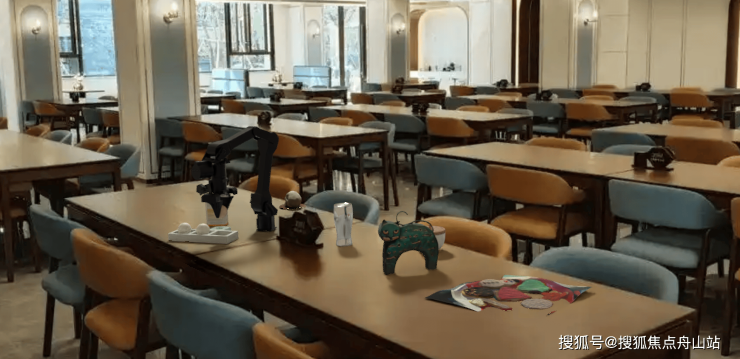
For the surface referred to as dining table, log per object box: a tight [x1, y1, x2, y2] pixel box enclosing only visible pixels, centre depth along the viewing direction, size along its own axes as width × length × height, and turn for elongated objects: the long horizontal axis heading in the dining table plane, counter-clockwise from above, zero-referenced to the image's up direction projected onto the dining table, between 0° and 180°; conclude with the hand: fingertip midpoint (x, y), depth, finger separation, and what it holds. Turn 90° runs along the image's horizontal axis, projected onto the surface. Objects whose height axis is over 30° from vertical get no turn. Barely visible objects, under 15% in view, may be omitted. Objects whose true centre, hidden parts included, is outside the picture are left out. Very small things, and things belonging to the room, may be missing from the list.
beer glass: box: [333, 202, 354, 247], centre depth 298 cm, size 7×7×15 cm
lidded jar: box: [426, 224, 446, 250], centre depth 287 cm, size 11×11×9 cm
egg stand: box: [210, 226, 232, 231], centre depth 323 cm, size 6×6×2 cm
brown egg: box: [214, 205, 227, 219], centre depth 309 cm, size 5×5×5 cm
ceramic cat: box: [377, 210, 440, 276], centre depth 261 cm, size 20×6×20 cm, turn 105°
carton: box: [167, 222, 239, 245], centre depth 313 cm, size 25×9×6 cm, turn 73°
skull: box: [279, 190, 307, 210], centre depth 372 cm, size 12×10×10 cm
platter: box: [424, 274, 592, 316], centre depth 234 cm, size 35×35×2 cm
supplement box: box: [204, 202, 229, 227], centre depth 337 cm, size 8×5×13 cm, turn 84°
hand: (221, 216), depth 309 cm, fingers closed on brown egg, 5 cm apart
